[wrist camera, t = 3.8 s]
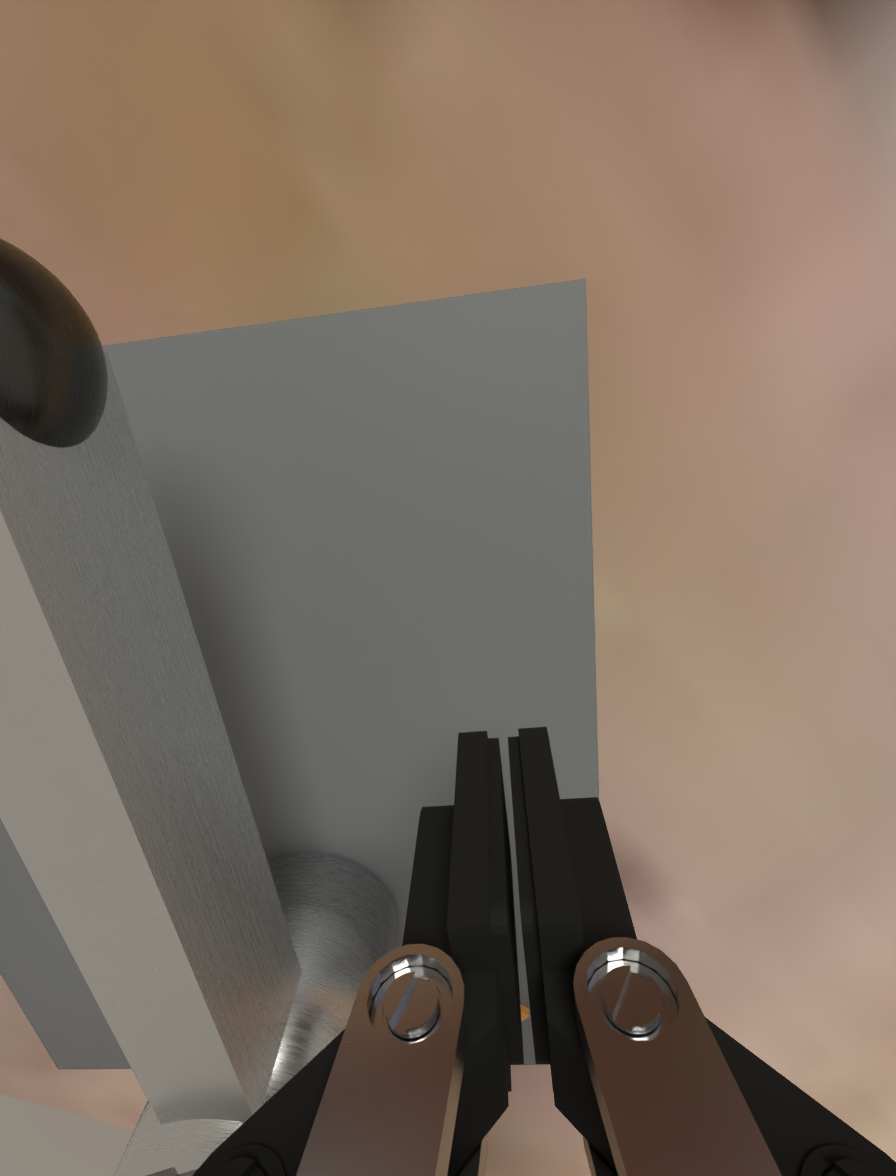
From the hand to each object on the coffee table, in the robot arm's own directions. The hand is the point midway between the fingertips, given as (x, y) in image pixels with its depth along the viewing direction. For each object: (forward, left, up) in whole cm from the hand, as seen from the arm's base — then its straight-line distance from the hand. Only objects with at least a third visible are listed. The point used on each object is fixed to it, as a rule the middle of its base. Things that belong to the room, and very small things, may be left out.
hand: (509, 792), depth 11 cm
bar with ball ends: (+2, -6, -4) cm, 8 cm away
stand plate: (+4, -8, -6) cm, 11 cm away
